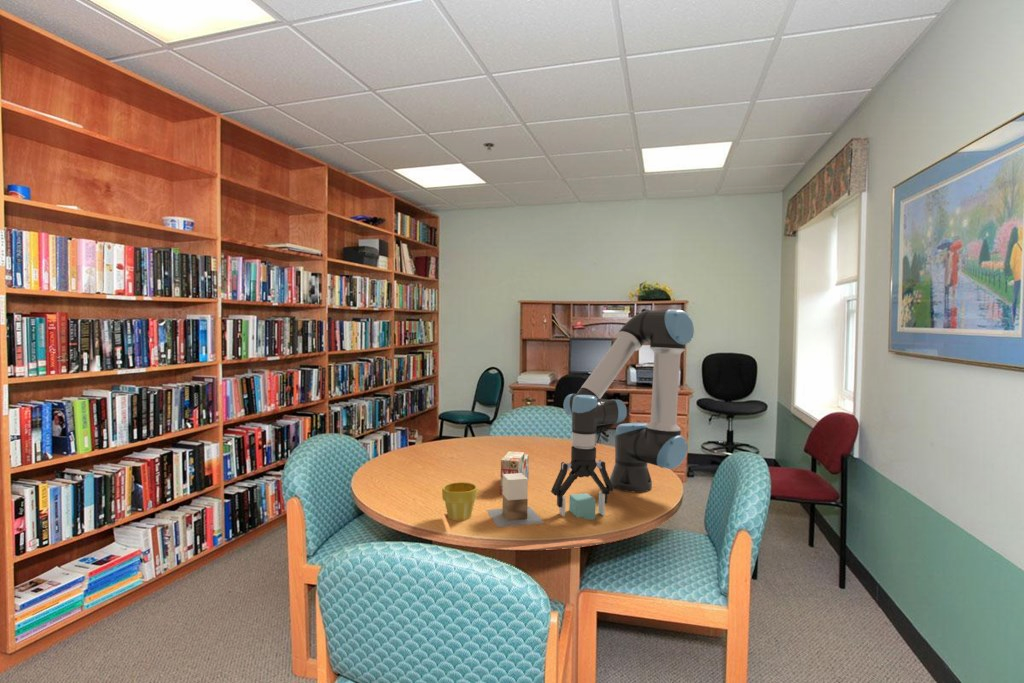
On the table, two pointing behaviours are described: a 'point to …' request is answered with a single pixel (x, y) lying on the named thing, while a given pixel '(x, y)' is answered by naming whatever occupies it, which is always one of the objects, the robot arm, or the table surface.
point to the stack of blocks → (514, 465)
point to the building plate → (502, 521)
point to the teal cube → (582, 506)
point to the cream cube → (515, 486)
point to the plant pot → (459, 499)
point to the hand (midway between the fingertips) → (582, 515)
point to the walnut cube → (515, 509)
